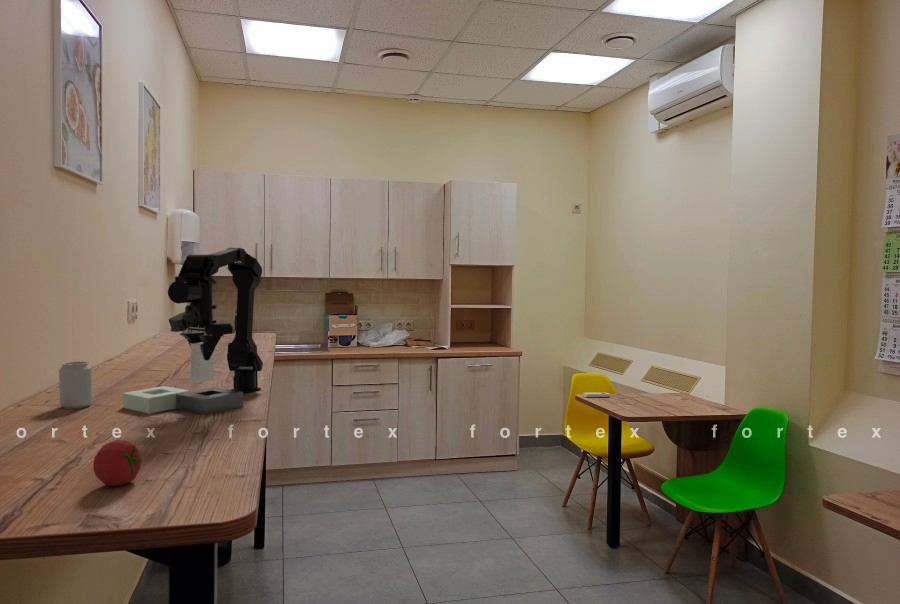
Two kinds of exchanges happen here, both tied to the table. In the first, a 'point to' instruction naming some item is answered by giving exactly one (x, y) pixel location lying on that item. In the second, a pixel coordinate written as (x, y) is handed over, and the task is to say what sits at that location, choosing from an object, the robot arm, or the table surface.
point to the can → (75, 385)
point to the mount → (209, 400)
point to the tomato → (117, 463)
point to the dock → (152, 399)
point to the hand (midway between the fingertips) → (202, 359)
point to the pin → (200, 364)
